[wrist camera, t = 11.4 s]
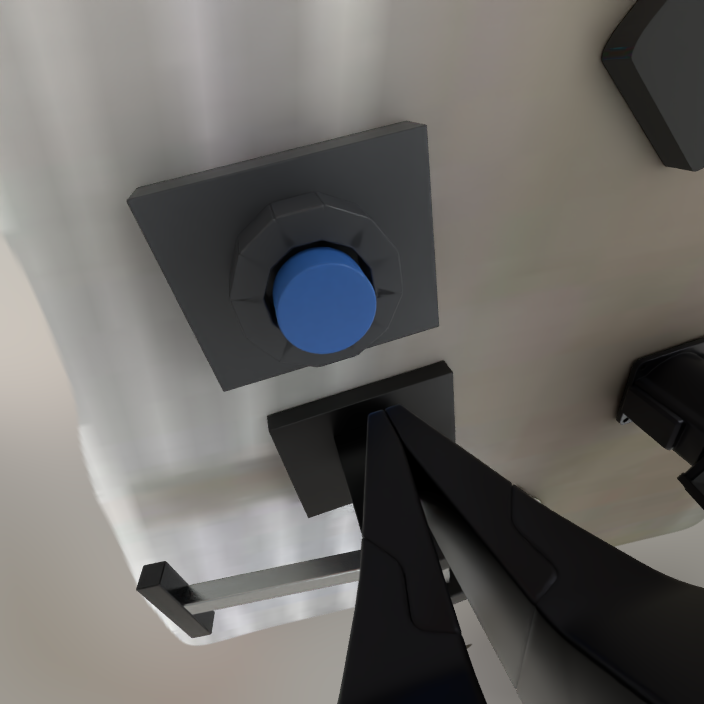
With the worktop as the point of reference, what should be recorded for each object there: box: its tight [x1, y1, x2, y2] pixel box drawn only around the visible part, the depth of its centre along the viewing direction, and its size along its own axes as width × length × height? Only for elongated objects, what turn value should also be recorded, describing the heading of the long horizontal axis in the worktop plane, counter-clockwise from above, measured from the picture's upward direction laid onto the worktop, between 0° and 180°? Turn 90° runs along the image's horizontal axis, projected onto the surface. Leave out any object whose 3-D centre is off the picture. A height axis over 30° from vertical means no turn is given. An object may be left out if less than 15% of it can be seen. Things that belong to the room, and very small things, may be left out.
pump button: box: [272, 247, 376, 354], centre depth 15 cm, size 4×4×2 cm
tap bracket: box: [267, 361, 467, 604], centre depth 22 cm, size 11×9×10 cm
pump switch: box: [127, 121, 439, 392], centre depth 17 cm, size 11×9×4 cm
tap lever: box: [136, 550, 450, 638], centre depth 20 cm, size 14×6×2 cm, turn 101°
